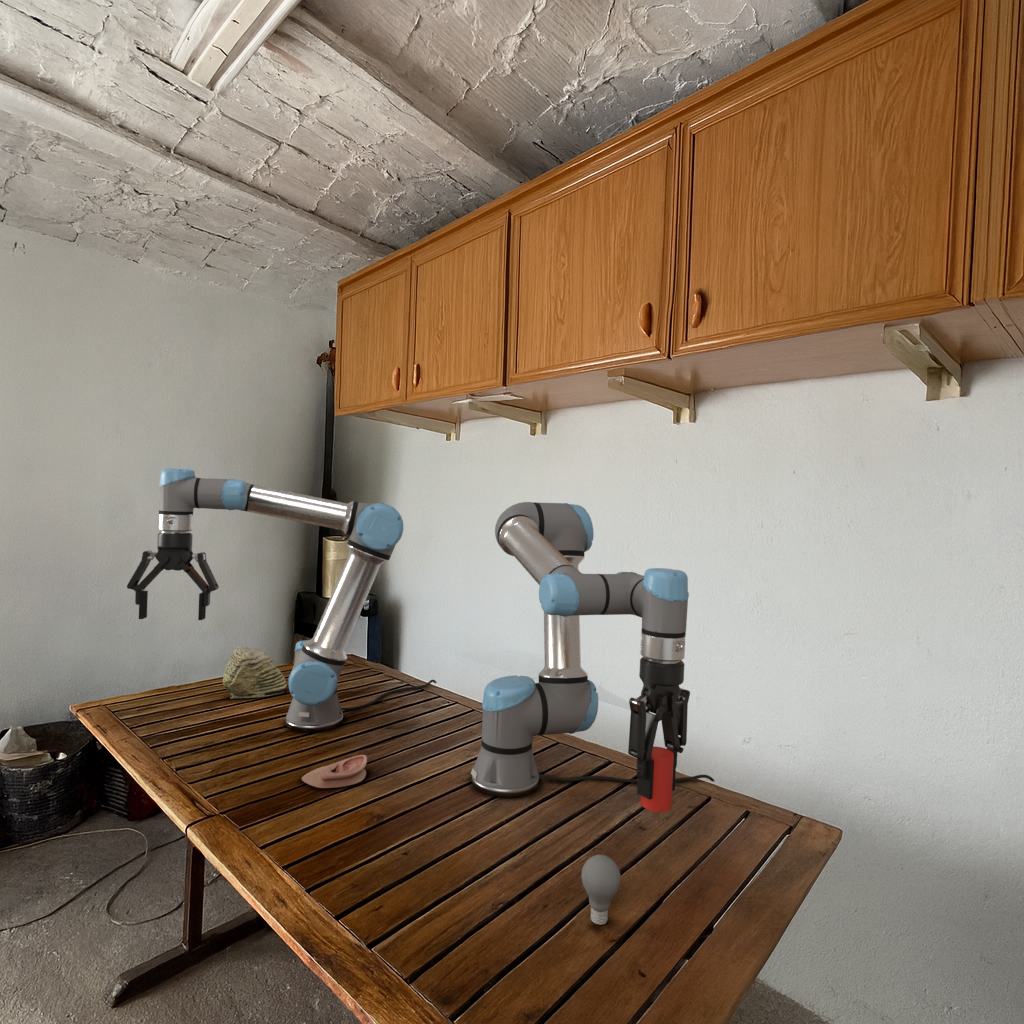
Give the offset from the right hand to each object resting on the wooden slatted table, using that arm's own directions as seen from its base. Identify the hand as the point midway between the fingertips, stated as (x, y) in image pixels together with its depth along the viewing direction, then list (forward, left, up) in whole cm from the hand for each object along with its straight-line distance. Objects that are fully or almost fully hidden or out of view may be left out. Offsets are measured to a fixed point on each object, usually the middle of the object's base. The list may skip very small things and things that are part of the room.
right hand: (656, 791), depth 110 cm
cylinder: (0, 0, -2) cm, 2 cm away
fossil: (+65, -121, -15) cm, 138 cm away
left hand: (+84, -83, +17) cm, 119 cm away
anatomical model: (+48, -54, -15) cm, 74 cm away
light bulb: (+15, +8, -15) cm, 23 cm away
